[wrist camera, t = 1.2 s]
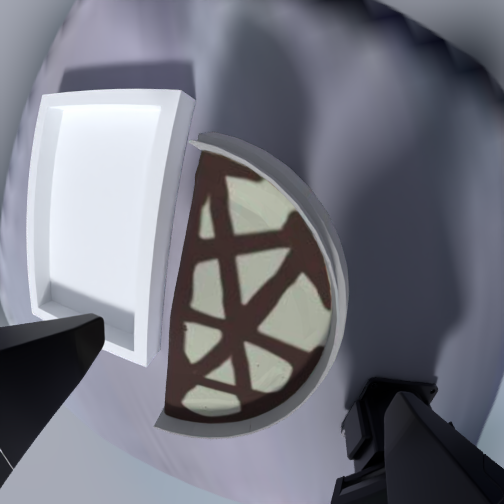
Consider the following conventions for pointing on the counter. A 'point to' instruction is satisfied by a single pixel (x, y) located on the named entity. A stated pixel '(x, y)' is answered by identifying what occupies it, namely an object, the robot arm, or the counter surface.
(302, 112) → the counter surface
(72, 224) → the tray
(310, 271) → the food container
